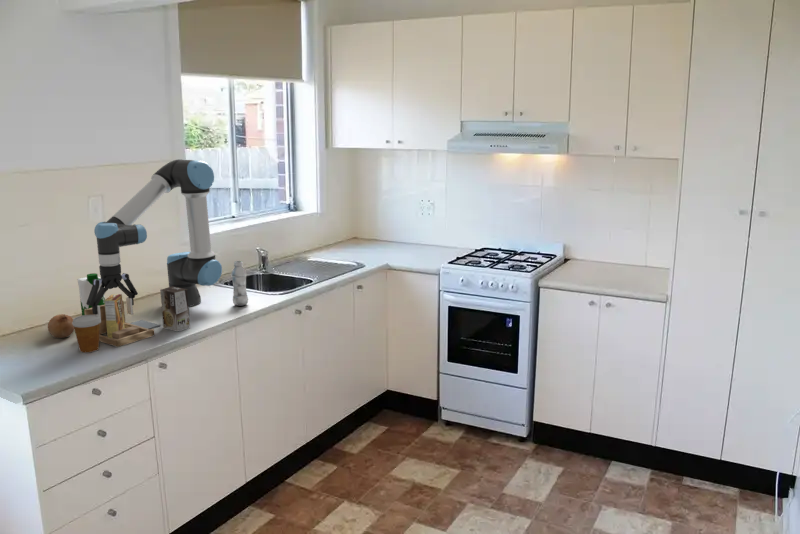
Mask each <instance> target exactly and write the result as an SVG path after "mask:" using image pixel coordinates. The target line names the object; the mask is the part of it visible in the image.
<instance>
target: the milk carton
mask: <svg viewBox="0 0 800 534" xmlns="http://www.w3.org/2000/svg"><path fill="white" fill-rule="evenodd" d="M98 275H99V274H98V273H95V272H94V273H88V274H86V277H80V278H77V279H76V280H77V286H78V291H79V299H80V301H79V302H80V308H81V316H83V315H85V313H84V310H85V309H89V308H92V306H90V305H87V304H86V303H87V300H88V297H89V294H90V291H91V289H92V286H93V279H96V280H100V279H101V276H98ZM101 285H102V283H100V285H99V289H98V291H99V290H100V286H101ZM97 293H98V292H97ZM105 299H106V295H105V294H104V296H103V297H102V299H101V301H100V302H99V304H98V306H101V305H105V302H104V300H105Z"/></svg>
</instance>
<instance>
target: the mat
mask: <svg viewBox="0 0 800 534" xmlns="http://www.w3.org/2000/svg"><path fill="white" fill-rule="evenodd" d="M130 324H133V325H137V326H140V327H144V328H147V329H156V328H159V327H161V324H159V323H154V322H152V321H148V320H143V319H140V320H136V321H134V322H130Z"/></svg>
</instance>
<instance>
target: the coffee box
mask: <svg viewBox="0 0 800 534" xmlns="http://www.w3.org/2000/svg"><path fill="white" fill-rule="evenodd" d="M160 302H161V313H162V325H163V329H166V330H171V331H174V332H181V331H183V330H187V329H190V327H191V325H190V312H189V310H190V309H189V307H188V295H187V289H184V288H179V287H174V286H172V287H169V286H168V287H166V288H161V289H160Z"/></svg>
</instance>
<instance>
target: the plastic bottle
mask: <svg viewBox="0 0 800 534" xmlns="http://www.w3.org/2000/svg"><path fill="white" fill-rule="evenodd" d="M231 280H232V286H233V287H232V288H233V295H232V303H233V304H234V305H235V306H237V307H242V306H246V305H247V304H248V302H249V297H248V293H247V292H248V291H247V270H246V269H245V268H244V263H243V261H242V260H241V261H240V260H236V261H234V262H233V268H232V270H231Z"/></svg>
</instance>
